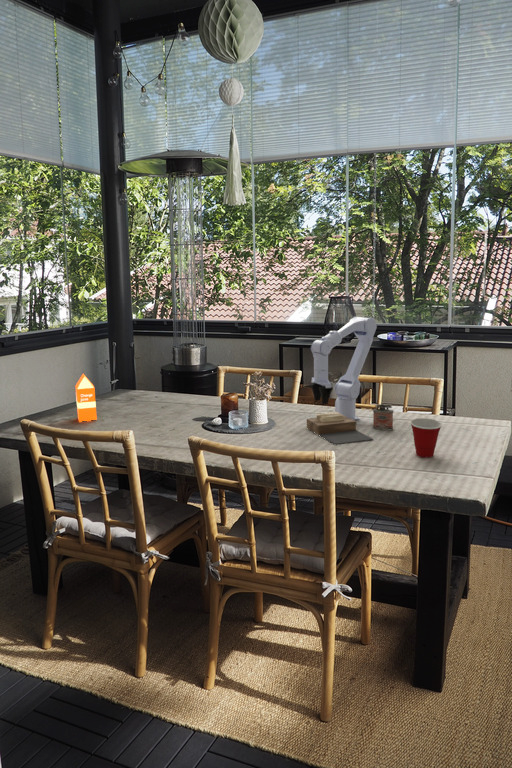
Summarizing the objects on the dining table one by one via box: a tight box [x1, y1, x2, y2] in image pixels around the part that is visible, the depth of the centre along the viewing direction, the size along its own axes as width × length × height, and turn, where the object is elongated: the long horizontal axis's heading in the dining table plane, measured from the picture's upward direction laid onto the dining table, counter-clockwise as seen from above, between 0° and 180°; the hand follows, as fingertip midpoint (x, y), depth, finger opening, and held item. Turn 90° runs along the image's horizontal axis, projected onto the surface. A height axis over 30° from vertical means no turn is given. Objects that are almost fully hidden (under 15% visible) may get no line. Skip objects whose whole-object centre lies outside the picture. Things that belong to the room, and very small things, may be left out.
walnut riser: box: [306, 416, 357, 436], centre depth 266 cm, size 12×16×4 cm
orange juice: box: [75, 373, 98, 423], centre depth 292 cm, size 8×9×20 cm
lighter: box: [372, 403, 394, 431], centre depth 266 cm, size 8×3×10 cm, turn 70°
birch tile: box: [316, 411, 344, 422], centre depth 267 cm, size 6×9×2 cm, turn 109°
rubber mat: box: [318, 429, 374, 445], centre depth 255 cm, size 14×16×1 cm
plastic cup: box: [409, 417, 443, 459], centre depth 229 cm, size 11×11×12 cm
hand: (321, 402), depth 274 cm, fingers open, 7 cm apart
